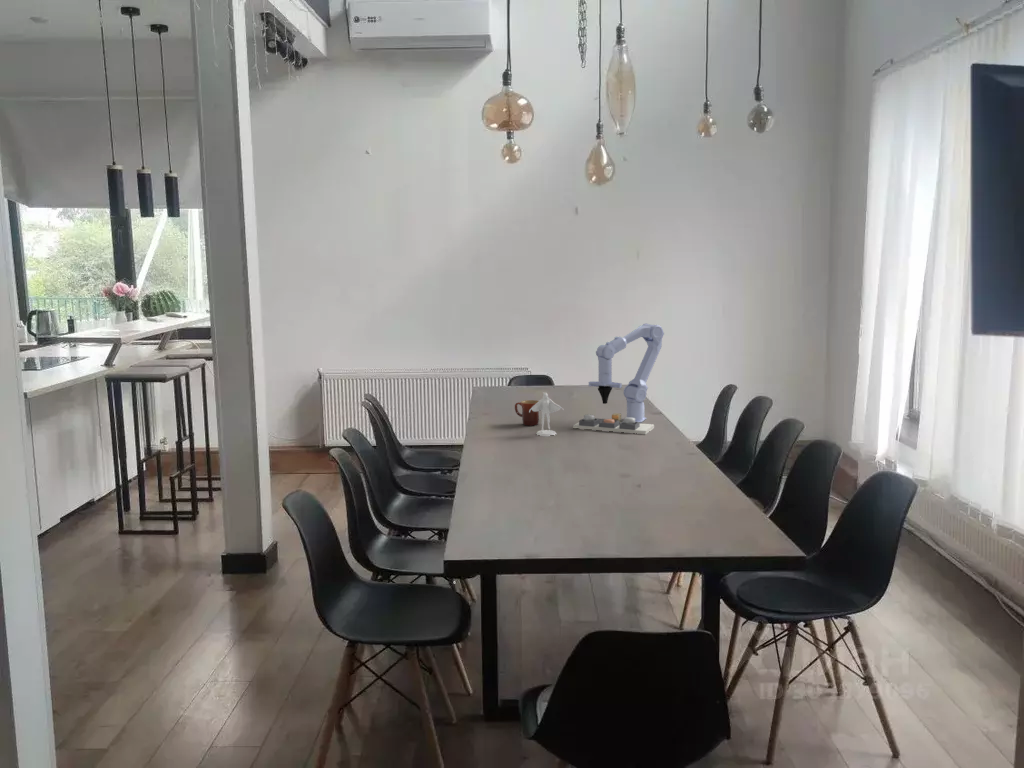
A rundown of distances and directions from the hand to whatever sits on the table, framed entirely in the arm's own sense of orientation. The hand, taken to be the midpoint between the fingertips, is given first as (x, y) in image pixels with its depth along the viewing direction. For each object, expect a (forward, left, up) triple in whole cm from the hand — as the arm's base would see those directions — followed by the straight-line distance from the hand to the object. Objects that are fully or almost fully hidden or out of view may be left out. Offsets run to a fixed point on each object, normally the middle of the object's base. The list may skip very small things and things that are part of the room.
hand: (605, 403), depth 354 cm
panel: (+7, +6, -9) cm, 13 cm away
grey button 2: (+9, +14, -6) cm, 18 cm away
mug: (+12, -32, -10) cm, 35 cm away
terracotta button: (+9, +5, -8) cm, 13 cm away
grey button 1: (+9, -4, -6) cm, 12 cm away
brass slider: (+3, +6, -8) cm, 10 cm away
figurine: (+26, -17, -10) cm, 33 cm away
